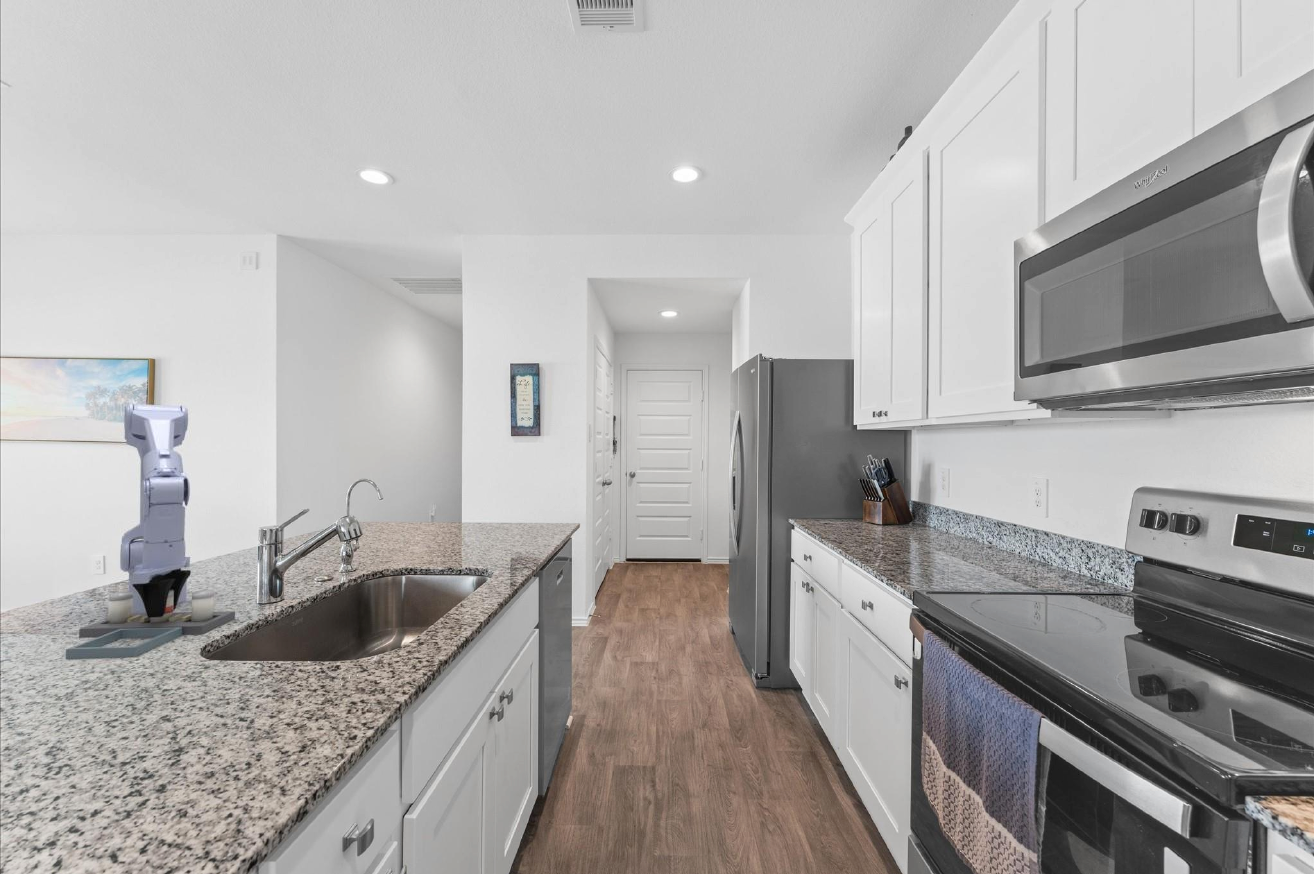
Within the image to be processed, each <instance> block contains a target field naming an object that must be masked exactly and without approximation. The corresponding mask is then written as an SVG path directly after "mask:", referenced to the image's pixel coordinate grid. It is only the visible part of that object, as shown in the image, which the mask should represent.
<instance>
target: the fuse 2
mask: <svg viewBox="0 0 1314 874" xmlns="http://www.w3.org/2000/svg"><path fill="white" fill-rule="evenodd" d="M214 595H215V591H214V590H213V589H203V590H196V591H193V592H191V610H190V612H191V622H207V621H209V620H211V619H213V612H214V604H215V603H214V602H215V600H214V599H215V596H214Z"/></svg>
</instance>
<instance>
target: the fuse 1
mask: <svg viewBox="0 0 1314 874" xmlns="http://www.w3.org/2000/svg"><path fill="white" fill-rule="evenodd" d="M107 609H108V610H107V611H108V612H107V613H108V614H107V615H108V616H107V619H108V624H123V623H126V622H127V619H129V618H131V617H132V610H133V591H128V590H126V591H117V592H116V591H115V592H113V593H109V594H108V608H107Z"/></svg>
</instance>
